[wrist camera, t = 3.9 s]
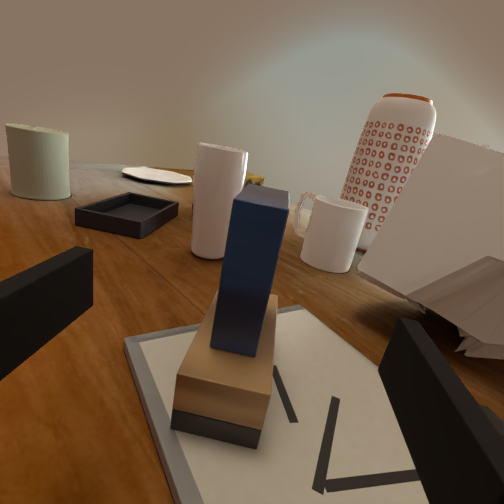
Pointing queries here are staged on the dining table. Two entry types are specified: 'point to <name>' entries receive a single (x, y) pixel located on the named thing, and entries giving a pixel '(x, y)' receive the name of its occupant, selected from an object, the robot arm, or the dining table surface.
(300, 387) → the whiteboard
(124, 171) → the plate
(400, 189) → the patterned vase
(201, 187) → the drinking glass
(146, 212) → the tray
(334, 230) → the cup
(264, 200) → the blue block with base
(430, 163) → the tissue box
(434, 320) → the dining table surface
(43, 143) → the can
